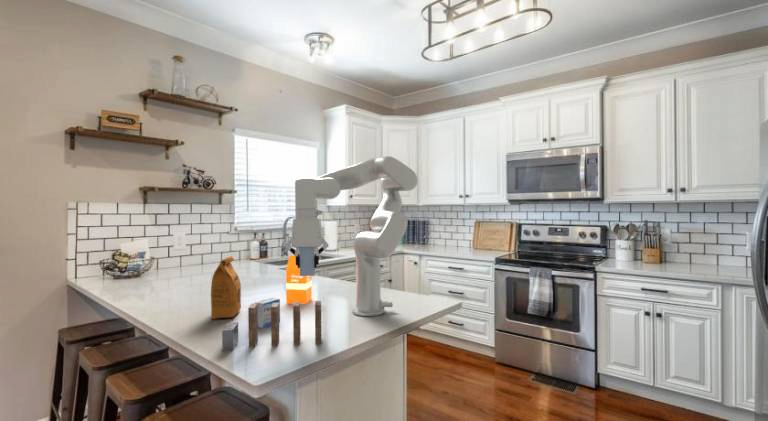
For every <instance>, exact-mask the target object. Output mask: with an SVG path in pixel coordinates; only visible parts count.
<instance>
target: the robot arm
mask: <svg viewBox="0 0 768 421" xmlns="http://www.w3.org/2000/svg"><path fill="white" fill-rule="evenodd" d="M378 180H380V181H381V188H382V193H383V194H382V195H383V196H382V197H383V198H382V201H381V202H380V204H379V206H378V207H377V209H376V210H375V212H374V213H373V215H372V216H371V219H370V221H369V228H370V229H371V231H361V232H359V233H358V234H357V235H356V236H355V238H354V240H353V250H354V255H355V266H356V268H355V269H356V272H355V273H356V274H355V275H356V277H355V278H356V284H355V285H356V287H355V288H356V289H355V290H356V292H355V293H356V294H355V295H356V297H355V299H356V306H354V307H352V311H351V312H352V313H353V314H354V315H356V316H361V317H375V316H379V315H382V314H384V313H385V308H393V304H394V303H393V301H387V300H386V301H383V300H382V299H381V296H382V295H381V293H382V292H381V287H382V286H381V277H382V276H381V275H382V274H381V273H382V272H381V267H382V266H381V262H380V260H379V259H387V258H389V257H391V256H392V254H393V253H394V252H395V251H396V250H397V248H398V245H399V244H400V242H401V241H402V238H403V237H404V235H405V233H406V231H407V228H408V219H407V216H406V215H405V213H403V212H402V211H401V210H402V207H403V201H402V198H401V194H400V192H408V191H412V190H414V189H415V188H416V187H417V185H418V176H417V173H416V172H415V171H414V170H413V169H412V168H410V167H409V166H407V165H406V164H405V163H404V162H402V161H401V160H398V159H397V158H396V157H393V156H389V155H388V156H387V155H386V156H378V157H372V158H370V159H367V160H364V161H361V162H359V163H355V164H353V165H351V166H347V167H343V168H341V169H339V170H335V171H332V172H328V173H325V174H323V175H320V176H317V177H299V178H296V180H294V181H295V182H294V193H295V194H294V197H295V198H294V204H295V209H294V210H295V217H294V218H293V220H292V225H291V238H290V239H289V240H288V241H287V242H286V244H285V245H284V248H286V249H287V250H288V251H289V252H290V253H291V254H293V255H295V256H296V265H298V268H300V257H299V250H300V248H311V247H314V251H315V256H314V267H315V268H317V266H319V265H320V264H319V263H320V261H319V259H320V258H319V256H320V255H321V254H322V253H323V252H324V251H325V250H326V249H327V248H329V243H328V242H327V241H326V239H325V238H324V237H323V231H322V230H323V229H322V221H321V217H319V216H321V215H323V210H319V209H318V208H319V203H318V202H319V201H318V200H333V199H335V198H337V197H338V196H339V195H340V194H341V191H346V190H353V189H357V188H361V187H363V186H365V185H368V184H370V183H372V182H375V181H378Z"/></svg>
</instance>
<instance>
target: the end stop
mask: <svg viewBox="0 0 768 421" xmlns="http://www.w3.org/2000/svg"><path fill="white" fill-rule="evenodd" d="M221 336H222V337H221V338H222V341H221V343H222V344H221V347H222V348H221V349H222V350H221V351H226V352H227V351H234V350H235V348H236V346H237V344H238V343H239V322H237V321H236V322H228V323H226V325H225V326H224V327H223V329H222V330H221Z"/></svg>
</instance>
